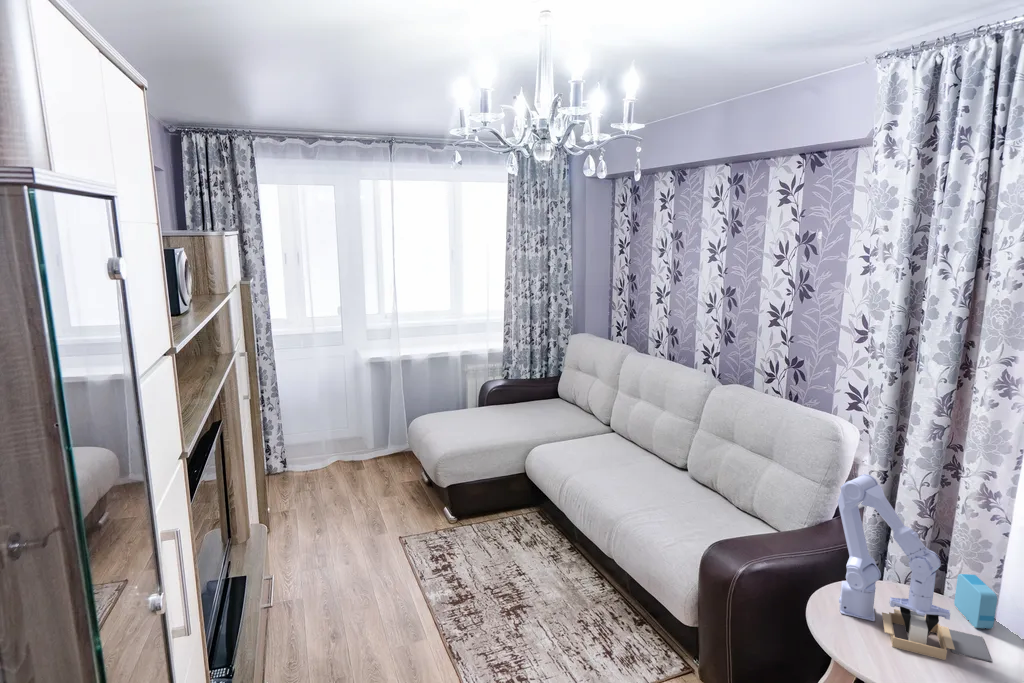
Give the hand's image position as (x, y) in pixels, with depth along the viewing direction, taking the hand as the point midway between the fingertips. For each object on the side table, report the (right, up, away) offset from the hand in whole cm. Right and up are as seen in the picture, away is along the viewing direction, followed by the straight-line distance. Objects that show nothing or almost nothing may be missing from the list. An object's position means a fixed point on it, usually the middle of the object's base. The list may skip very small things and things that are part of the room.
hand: (916, 633), depth 177 cm
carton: (+1, -2, +1) cm, 2 cm away
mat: (+13, -2, -2) cm, 14 cm away
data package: (+24, 0, +9) cm, 26 cm away
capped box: (0, -1, 0) cm, 2 cm away
